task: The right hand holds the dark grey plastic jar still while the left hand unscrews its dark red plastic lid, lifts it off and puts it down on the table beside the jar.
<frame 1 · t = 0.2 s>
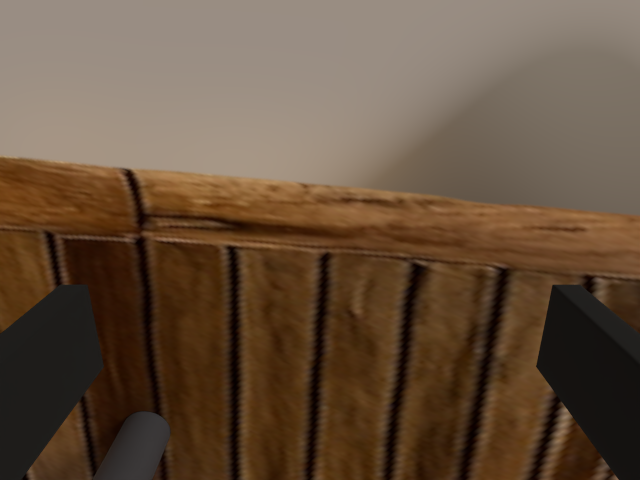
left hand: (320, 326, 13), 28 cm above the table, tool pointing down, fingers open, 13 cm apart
jar: (147, 429, 50), on the table
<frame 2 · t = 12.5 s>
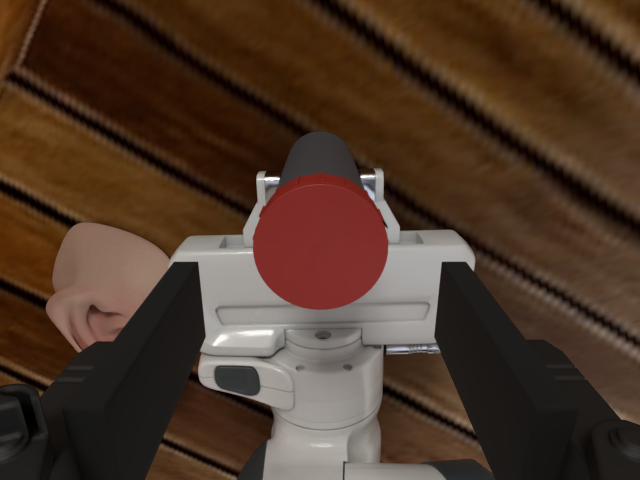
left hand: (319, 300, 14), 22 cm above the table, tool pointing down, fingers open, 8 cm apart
anatomical model: (123, 294, 39), on the table
lid: (320, 247, 19), point 18 cm above the table, screwed on, not yet turned
jar: (320, 164, 35), on the table, touching right hand
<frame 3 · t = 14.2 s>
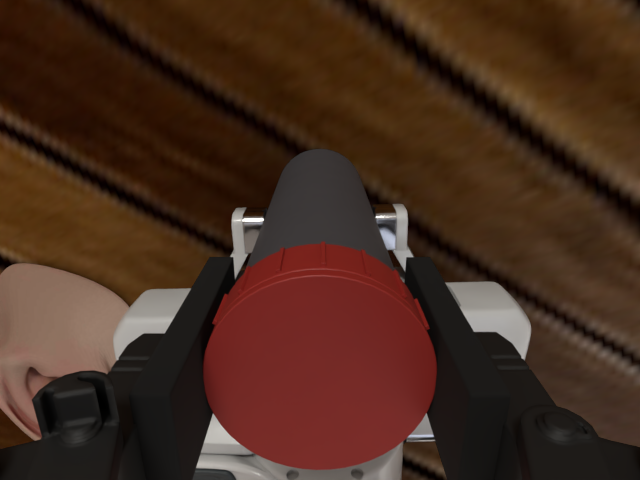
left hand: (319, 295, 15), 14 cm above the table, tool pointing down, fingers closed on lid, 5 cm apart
anatomical model: (74, 349, 32), on the table
lid: (319, 372, 11), point 18 cm above the table, screwed on, not yet turned, touching left hand
jar: (319, 190, 28), on the table, touching right hand
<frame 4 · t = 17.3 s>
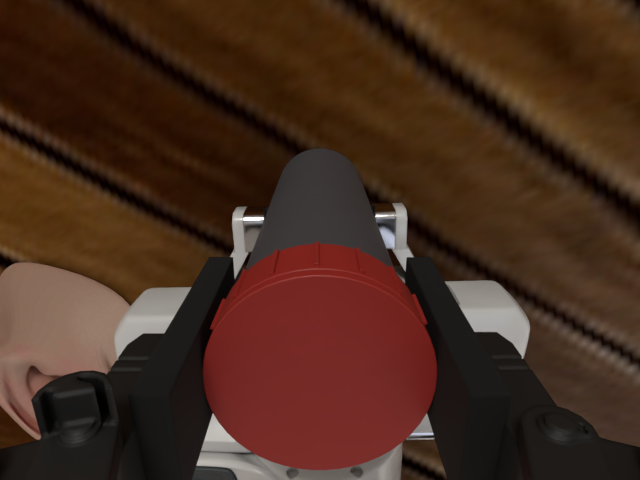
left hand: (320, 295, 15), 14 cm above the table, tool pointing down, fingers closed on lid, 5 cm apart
anatomical model: (75, 348, 32), on the table
lid: (319, 372, 11), point 18 cm above the table, turned 88° so far, risen 0.1 cm, still on its thread, touching left hand
jar: (319, 190, 28), on the table, touching right hand
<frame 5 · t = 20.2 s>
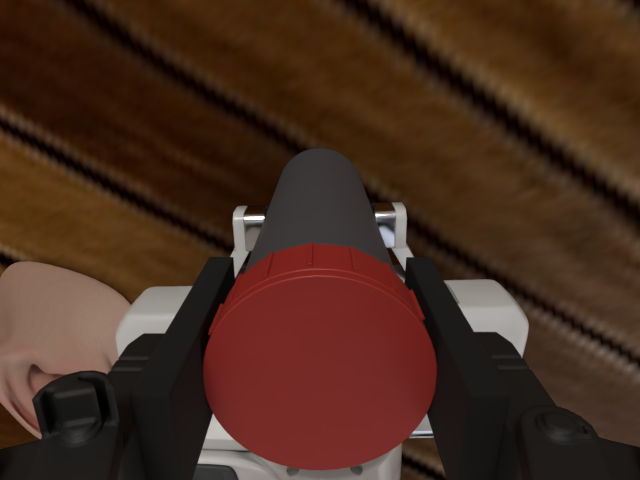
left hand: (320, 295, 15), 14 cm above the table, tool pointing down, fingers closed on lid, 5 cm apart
anatomical model: (76, 347, 32), on the table
lid: (319, 372, 11), point 18 cm above the table, turned 176° so far, risen 0.3 cm, still on its thread, touching left hand
jar: (319, 189, 28), on the table, touching right hand
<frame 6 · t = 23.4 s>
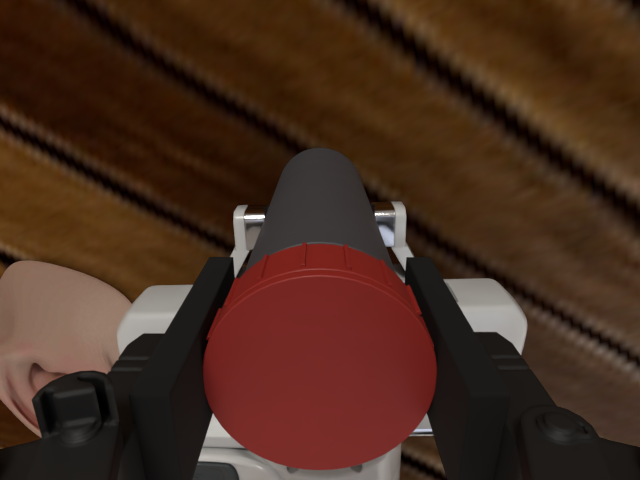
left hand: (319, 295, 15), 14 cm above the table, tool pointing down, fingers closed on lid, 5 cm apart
anatomical model: (77, 345, 32), on the table
lid: (319, 372, 11), point 18 cm above the table, turned 264° so far, risen 0.4 cm, still on its thread, touching left hand
jar: (319, 189, 28), on the table, touching right hand
when the left hand's fingers open (0 cm above the table, at t = 30.2 s): lid drops 3 cm, point 2 cm above the table.
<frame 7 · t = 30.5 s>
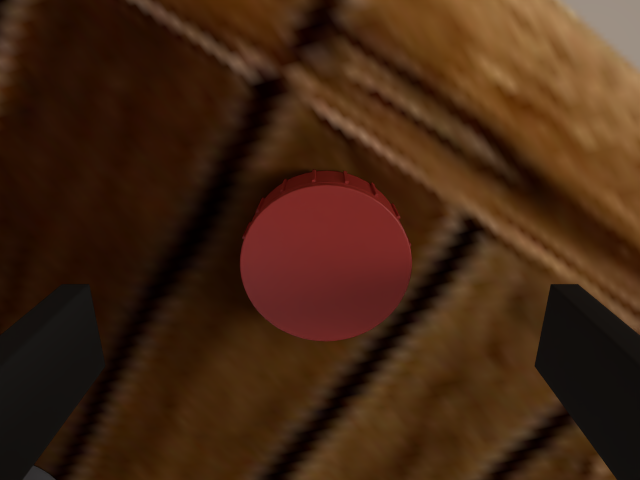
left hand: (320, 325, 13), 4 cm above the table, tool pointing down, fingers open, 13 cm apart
lid: (325, 264, 15), point 2 cm above the table, off its thread
when the right hand's fingers open (7 cm above the table, at t = 30.9 s): jar stays where it is, on the table.
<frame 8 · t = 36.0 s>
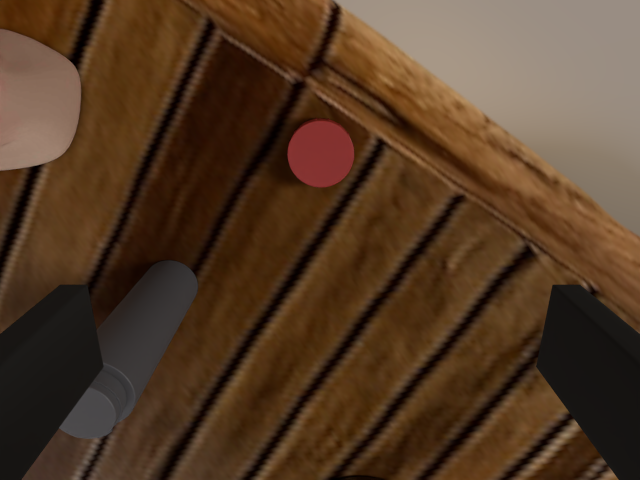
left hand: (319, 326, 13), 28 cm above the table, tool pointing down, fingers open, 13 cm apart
anatomical model: (7, 103, 38), on the table
lid: (320, 154, 38), point 2 cm above the table, off its thread
jar: (171, 284, 44), on the table
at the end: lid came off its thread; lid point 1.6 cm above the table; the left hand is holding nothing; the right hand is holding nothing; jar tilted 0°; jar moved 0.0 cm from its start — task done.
